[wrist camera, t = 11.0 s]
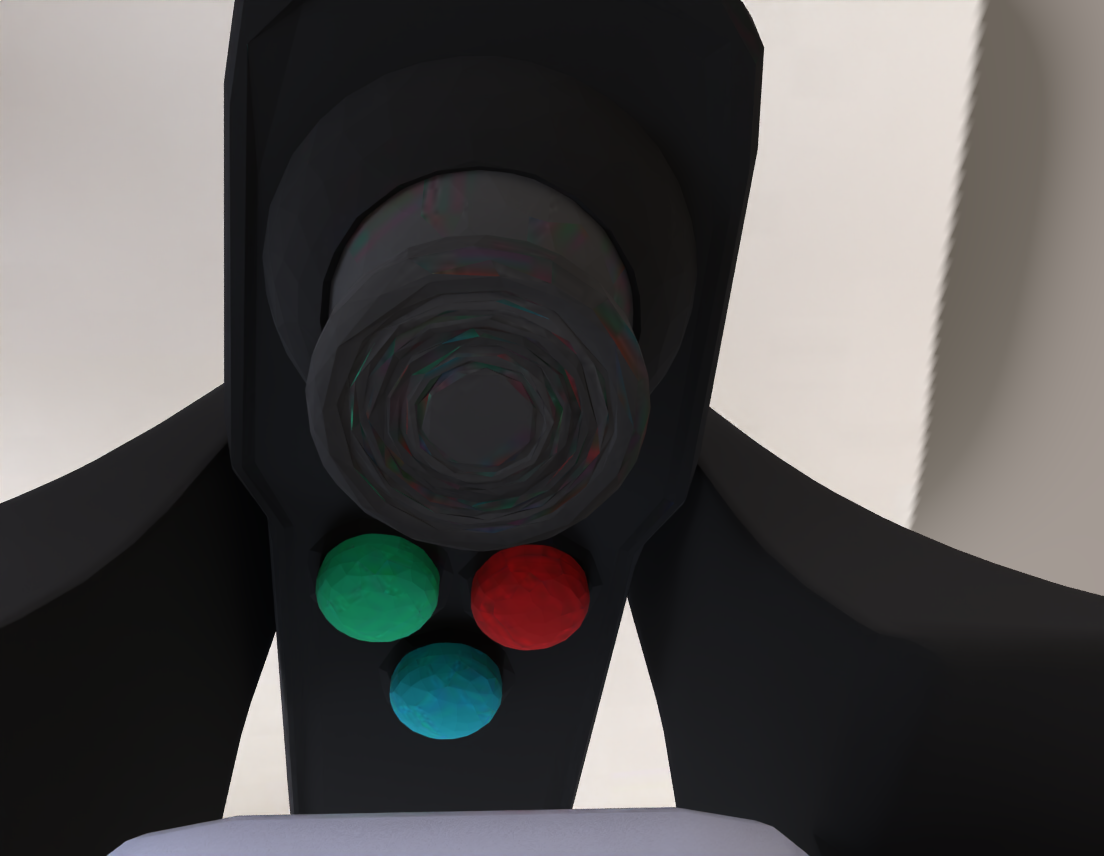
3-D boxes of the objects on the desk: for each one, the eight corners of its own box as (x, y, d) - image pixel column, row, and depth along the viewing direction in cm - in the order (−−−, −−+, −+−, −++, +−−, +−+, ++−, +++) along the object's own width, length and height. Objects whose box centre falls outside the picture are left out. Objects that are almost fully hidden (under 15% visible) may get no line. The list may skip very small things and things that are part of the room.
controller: (653, -61, 13) (1001, -59, 4) (547, 590, 19) (593, 1160, 10) (354, -107, 12) (9, -216, 3) (343, 577, 18) (205, 1166, 9)
